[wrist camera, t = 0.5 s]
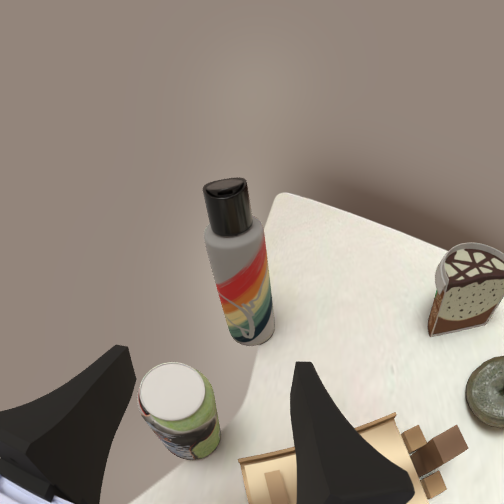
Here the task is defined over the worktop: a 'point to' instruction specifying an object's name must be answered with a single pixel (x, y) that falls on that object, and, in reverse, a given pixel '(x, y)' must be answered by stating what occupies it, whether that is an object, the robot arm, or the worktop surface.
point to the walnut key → (438, 451)
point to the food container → (466, 288)
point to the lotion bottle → (239, 261)
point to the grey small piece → (488, 392)
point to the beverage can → (180, 409)
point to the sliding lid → (285, 469)
